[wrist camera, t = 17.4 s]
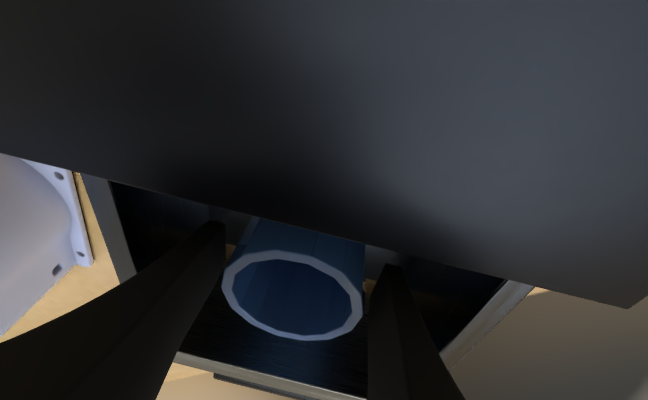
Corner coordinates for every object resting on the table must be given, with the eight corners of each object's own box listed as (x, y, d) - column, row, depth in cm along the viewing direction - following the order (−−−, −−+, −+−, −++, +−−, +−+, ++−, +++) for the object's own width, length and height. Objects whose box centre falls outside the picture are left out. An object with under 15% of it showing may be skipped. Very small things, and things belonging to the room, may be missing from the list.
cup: (387, 186, 13) (389, 282, 9) (346, 258, 16) (334, 354, 12) (278, 147, 13) (230, 229, 9) (257, 228, 16) (215, 316, 12)
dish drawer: (382, 340, 22) (381, 453, 17) (203, 295, 22) (149, 394, 17) (559, 53, 10) (731, 141, 5) (172, -41, 10) (-35, -47, 5)
